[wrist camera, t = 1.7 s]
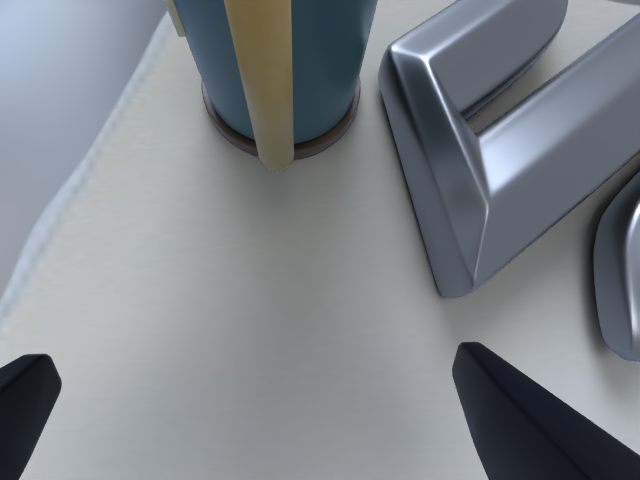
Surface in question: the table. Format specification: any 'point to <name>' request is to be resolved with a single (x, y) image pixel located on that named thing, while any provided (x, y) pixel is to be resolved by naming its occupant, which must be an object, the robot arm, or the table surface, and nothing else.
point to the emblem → (518, 146)
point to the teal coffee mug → (277, 65)
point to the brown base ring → (299, 148)
